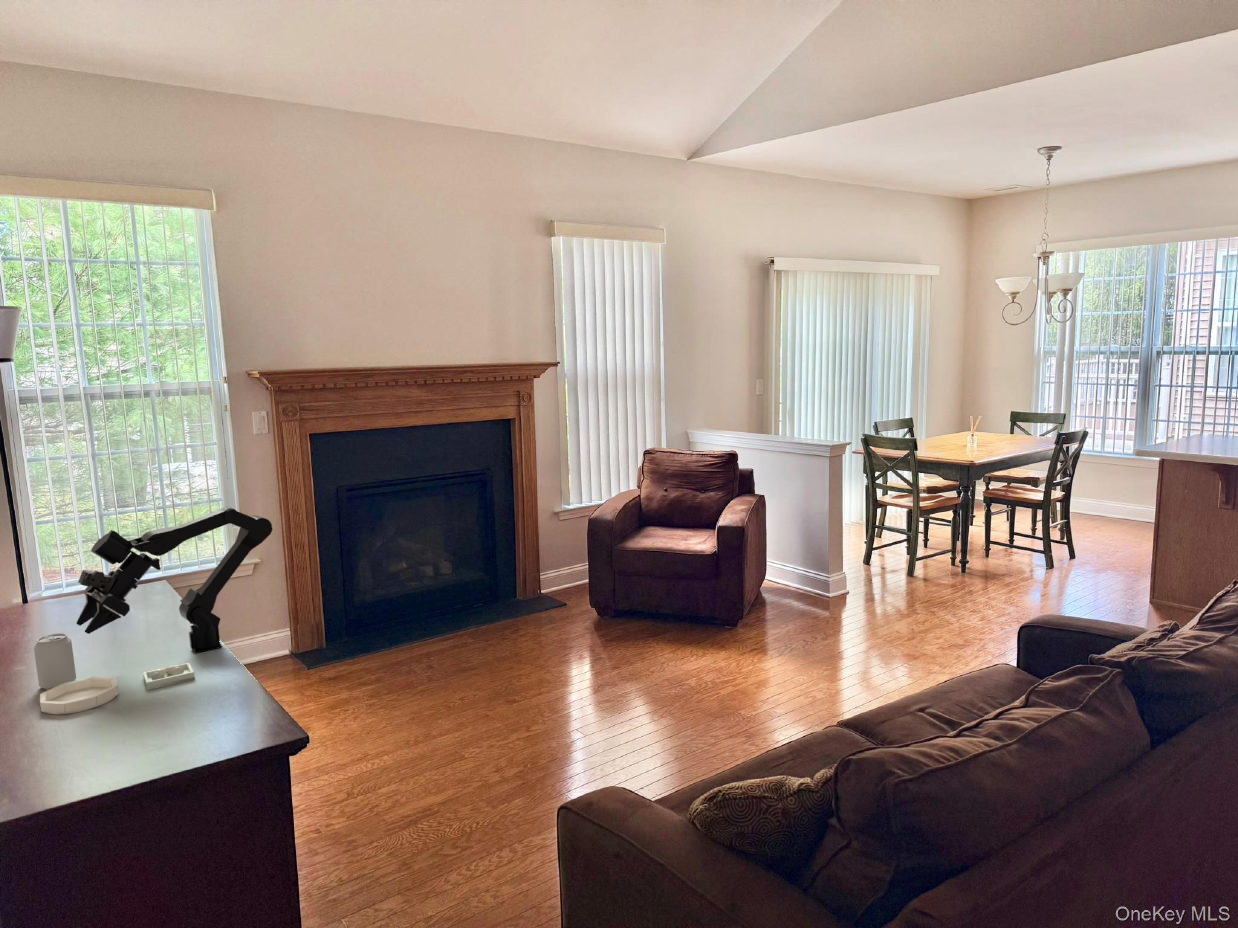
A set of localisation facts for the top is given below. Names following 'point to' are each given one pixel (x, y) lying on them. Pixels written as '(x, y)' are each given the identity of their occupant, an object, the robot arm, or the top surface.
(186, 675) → the pebble tray
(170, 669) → the pebbles
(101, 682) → the bowl
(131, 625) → the top surface
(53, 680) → the can
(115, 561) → the robot arm
